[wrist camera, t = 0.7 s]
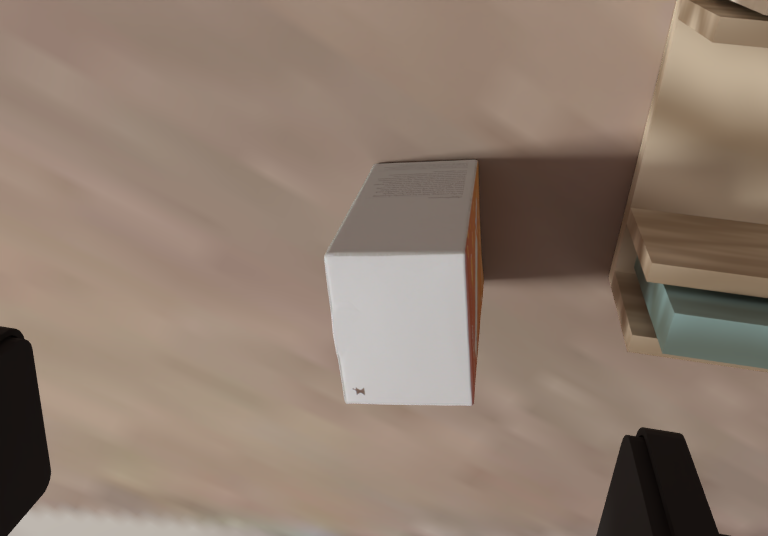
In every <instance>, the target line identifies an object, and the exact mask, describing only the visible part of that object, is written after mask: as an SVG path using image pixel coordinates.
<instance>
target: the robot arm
mask: <svg viewBox="0 0 768 536" xmlns="http://www.w3.org/2000/svg"><path fill="white" fill-rule="evenodd" d="M50 476H51V467H50V461H49V454H48V448H47V441H46V435H45V428H44V422H43V415H42V409H41V402H40V395H39V389H38V382H37V376H36V369H35V363H34V356H33V350H32V346H31V344H30V342H29V341H27V340H25V339H24V336H23V334H22V333H21V332H20V331H19V330H17V329H14V328H7V327H1V326H0V536H8V534H9V533H10V532H11V531H12V530H13V528H14V527H15V526H16V525H17V524H18V523H19V522H20V520H21V519H22V518H23V517H24V516H25V515H26V513H27V512H28V511H29V510H30V509H31V508H32V506H33V505H34V504H35V503H36V502H37V501H38V499H39V498H40V497H41V496H42V495H43V493H44V492H45V490H46V488H47V486H48V484H49V481H50ZM596 536H729V535H723V534H719V533H718V530H717V527H716V524H715V521H714V519H713V516H712V513H711V510H710V507H709V505H708V502H707V499H706V496H705V494H704V491H703V488H702V485H701V482H700V480H699V477H698V474H697V471H696V468H695V466H694V463H693V460H692V457H691V455H690V452H689V449H688V446H687V443H686V441H685V438H684V436H683V435H682V434H680V433H675V432H669V431H662V430H656V429H650V428H643V427H642V428H640V429H639V431H638V432H637V435H636V436H630V435H625V436H624V438H623V440H622V443H621V447H620V451H619V454H618V458H617V462H616V465H615V469H614V473H613V476H612V480H611V484H610V487H609V491H608V495H607V498H606V502H605V506H604V510H603V513H602V517H601V521H600V524H599V528H598V532H597V535H596Z"/></svg>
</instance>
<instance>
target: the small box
mask: <svg viewBox="0 0 768 536" xmlns="http://www.w3.org/2000/svg"><path fill="white" fill-rule="evenodd" d="M324 262H325V271H326V279H327V287H328V294H329V302H330V309H331V318H332V330H333V337H334V343H335V349H336V353H337V357H338V362H339V368H340V374H341V381H342V386H343V393H344V400H345V402H346V403H347V404H350V403H358V404H389V405H464V406H472V405H473V404H474V392H475V378H476V365H477V354H478V342H479V329H480V315H481V306H482V297H483V284H484V276H483V266H482V253H481V230H480V204H479V165H478V160H475V159H474V160H456V161H433V162H407V163H382V164H374V165H373V167H372V169H371V171H370V173H369V175H368V177H367V178H366V180H365V182H364V184H363V186H362V188H361V189H360V191H359V193H358V195H357V197H356V198H355V200H354V202H353V204H352V206H351V208H350V209H349V211H348V213H347V215H346V217H345V219H344V220H343V222H342V224H341V226H340V228H339V230H338V232H337V233H336V235H335V237H334V239H333V241H332V243H331V244H330V246H329V248H328V250H327V252H326V254H325V256H324Z"/></svg>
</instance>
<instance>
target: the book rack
mask: <svg viewBox="0 0 768 536" xmlns="http://www.w3.org/2000/svg"><path fill="white" fill-rule="evenodd" d="M609 281H610V285H611V288H612V292H613V296H614V300H615V304H616V308H617V312H618V316H619V320H620V324H621V328H622V332H623V336H624V340H625V344H626V348H627V352H633V353H640V354H646V355H653V356H660V357H667V358H674V359H680V360H687V361H694V362H701V363H707V364H714V365H721V366H728V367H735V368H741V369H748V370H755V371H762V372H768V0H677V1H676V5H675V10H674V14H673V18H672V22H671V26H670V30H669V34H668V38H667V42H666V46H665V50H664V54H663V58H662V62H661V66H660V70H659V74H658V78H657V83H656V87H655V91H654V95H653V99H652V103H651V107H650V111H649V115H648V119H647V123H646V127H645V131H644V135H643V139H642V143H641V147H640V151H639V155H638V160H637V164H636V168H635V172H634V176H633V180H632V184H631V188H630V192H629V196H628V200H627V204H626V208H625V212H624V216H623V220H622V224H621V228H620V233H619V237H618V241H617V245H616V249H615V253H614V257H613V261H612V265H611V269H610V273H609Z"/></svg>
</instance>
